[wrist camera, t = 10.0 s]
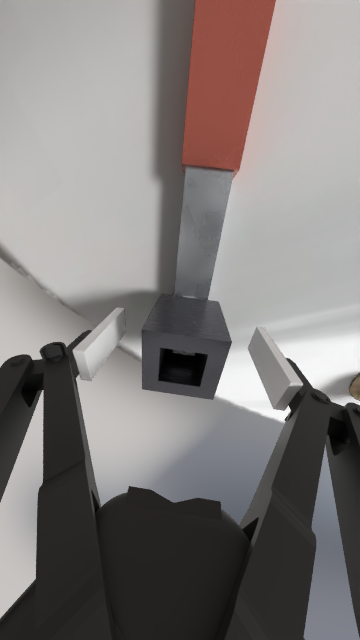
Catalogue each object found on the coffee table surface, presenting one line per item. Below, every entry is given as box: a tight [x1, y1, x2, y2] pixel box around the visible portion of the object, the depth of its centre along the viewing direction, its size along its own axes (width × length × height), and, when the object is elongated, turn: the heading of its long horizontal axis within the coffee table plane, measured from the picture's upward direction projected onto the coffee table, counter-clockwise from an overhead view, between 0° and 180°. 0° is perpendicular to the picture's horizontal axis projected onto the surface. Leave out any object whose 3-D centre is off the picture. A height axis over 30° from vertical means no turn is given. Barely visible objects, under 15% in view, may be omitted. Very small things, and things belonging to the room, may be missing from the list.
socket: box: [142, 294, 232, 400], centre depth 15 cm, size 6×6×7 cm
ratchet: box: [173, 0, 276, 356], centre depth 13 cm, size 25×6×7 cm, turn 174°
